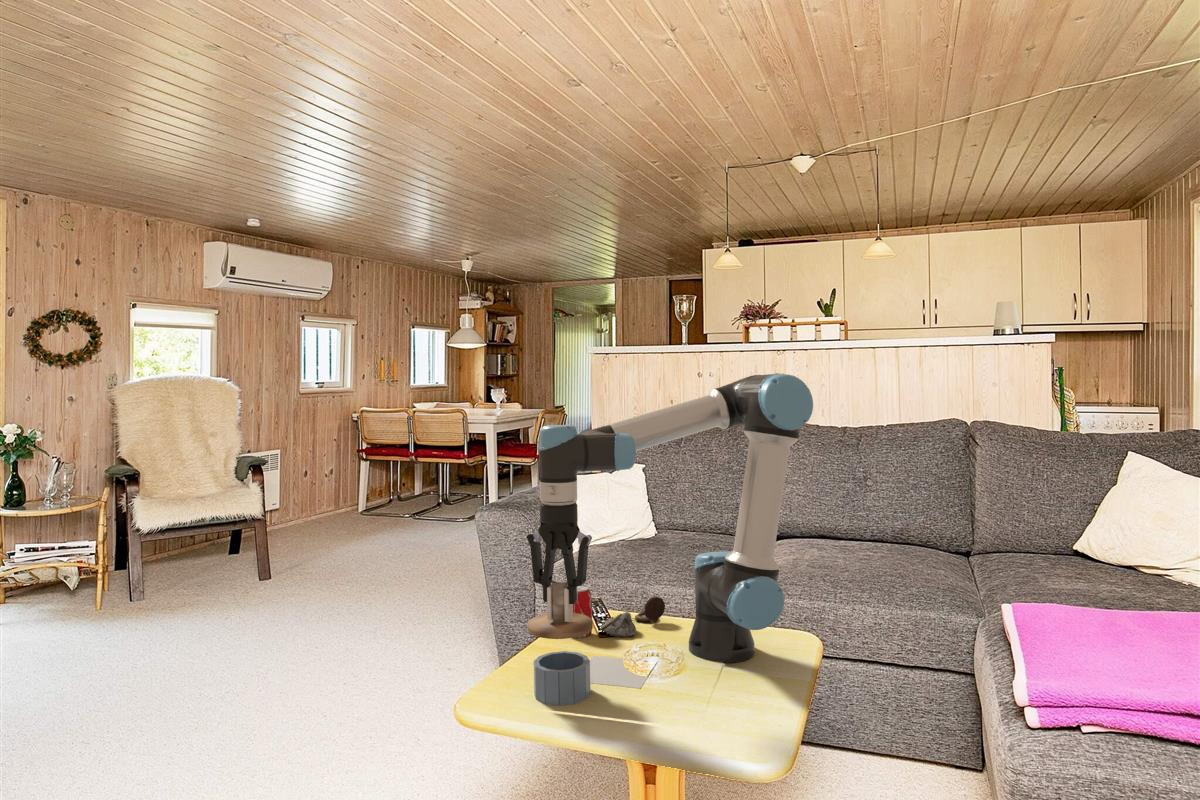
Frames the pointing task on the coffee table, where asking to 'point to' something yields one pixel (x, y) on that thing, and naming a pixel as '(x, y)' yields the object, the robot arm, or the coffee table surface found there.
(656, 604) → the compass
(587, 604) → the soda can
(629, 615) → the grey rock
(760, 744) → the coffee table surface
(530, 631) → the lid
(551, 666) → the grey hollow round piece
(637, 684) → the mat
